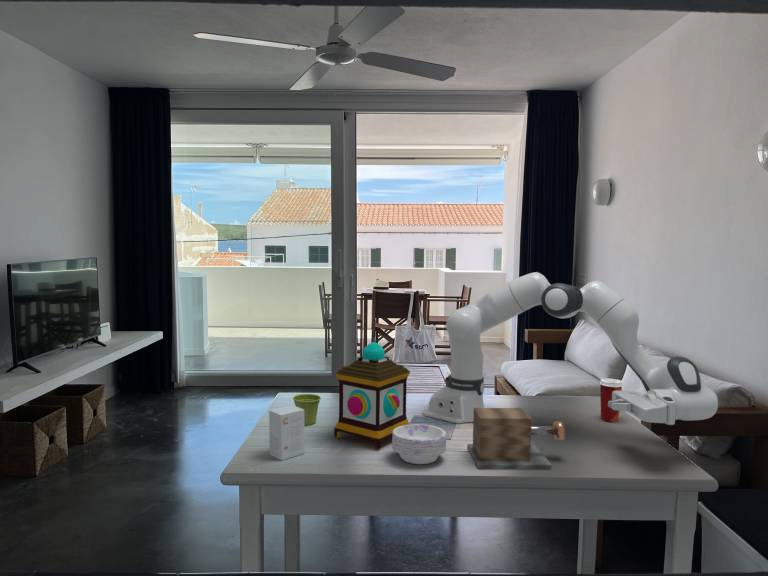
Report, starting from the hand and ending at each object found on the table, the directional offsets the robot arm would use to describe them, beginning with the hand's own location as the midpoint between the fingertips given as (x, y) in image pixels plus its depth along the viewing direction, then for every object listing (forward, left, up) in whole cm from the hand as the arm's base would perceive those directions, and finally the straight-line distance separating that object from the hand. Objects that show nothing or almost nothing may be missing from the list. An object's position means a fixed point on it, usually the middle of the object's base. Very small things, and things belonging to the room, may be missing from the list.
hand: (610, 405), depth 158 cm
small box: (-81, -43, -16) cm, 93 cm away
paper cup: (-4, +39, -16) cm, 42 cm away
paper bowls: (-47, -27, -16) cm, 56 cm away
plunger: (-19, -11, -10) cm, 24 cm away
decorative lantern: (-67, -18, -16) cm, 71 cm away
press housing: (-25, -14, -15) cm, 33 cm away
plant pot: (-93, -17, -16) cm, 96 cm away
